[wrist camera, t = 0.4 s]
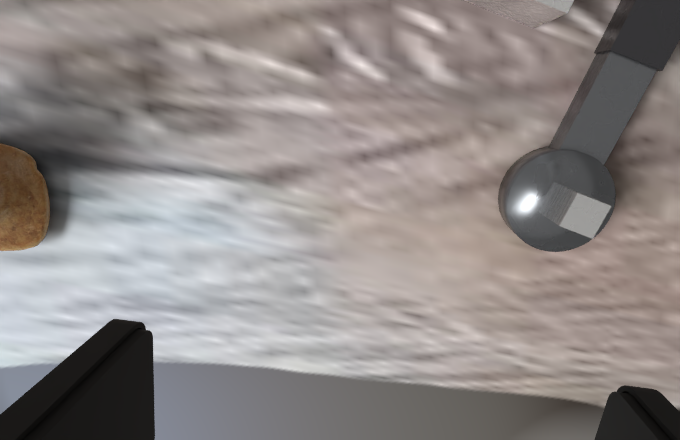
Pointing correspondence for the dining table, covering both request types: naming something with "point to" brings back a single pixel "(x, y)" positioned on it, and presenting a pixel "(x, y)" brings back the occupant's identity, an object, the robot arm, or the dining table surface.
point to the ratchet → (589, 133)
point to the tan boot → (21, 201)
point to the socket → (526, 9)
